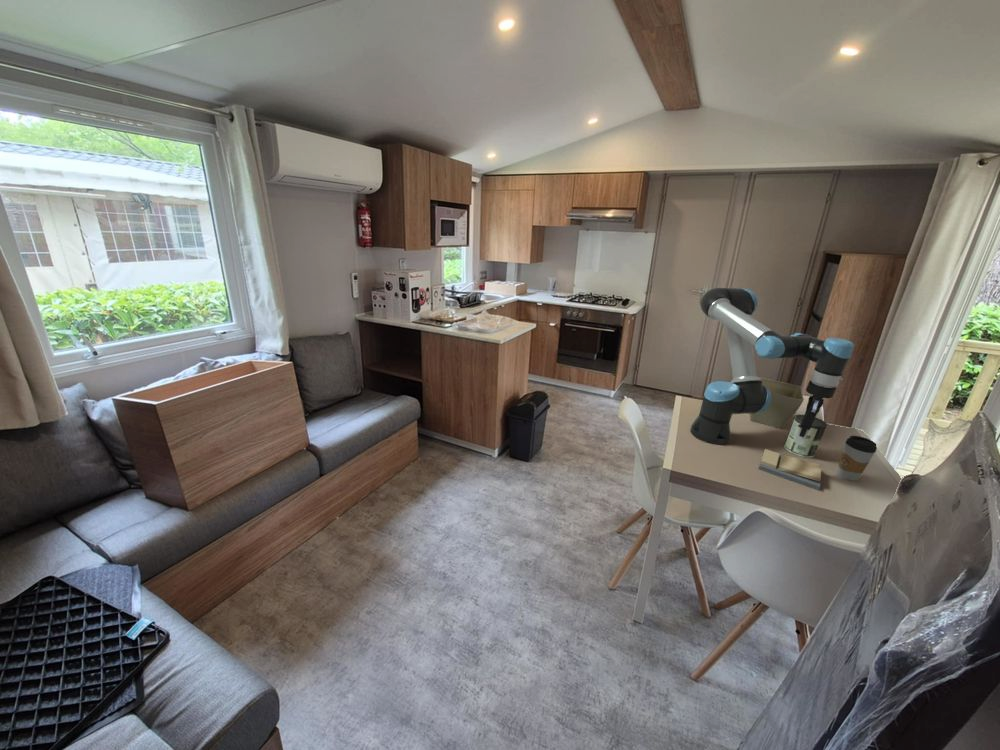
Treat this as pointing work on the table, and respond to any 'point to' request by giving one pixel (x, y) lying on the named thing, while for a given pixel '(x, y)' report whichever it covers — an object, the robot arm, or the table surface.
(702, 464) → the table surface
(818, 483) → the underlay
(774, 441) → the table surface
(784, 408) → the flower pot
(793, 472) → the plank
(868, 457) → the coffee cup
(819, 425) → the coffee can
